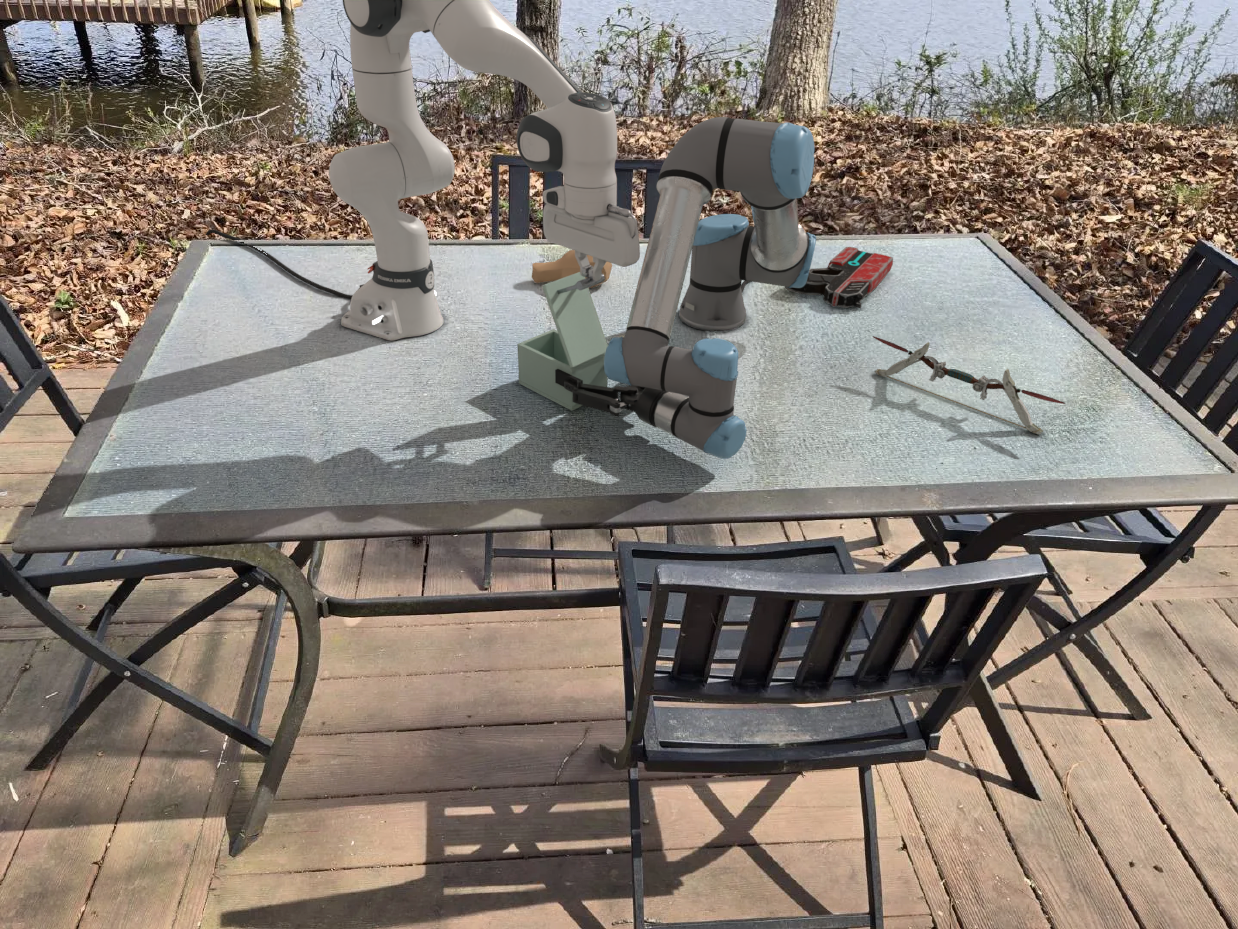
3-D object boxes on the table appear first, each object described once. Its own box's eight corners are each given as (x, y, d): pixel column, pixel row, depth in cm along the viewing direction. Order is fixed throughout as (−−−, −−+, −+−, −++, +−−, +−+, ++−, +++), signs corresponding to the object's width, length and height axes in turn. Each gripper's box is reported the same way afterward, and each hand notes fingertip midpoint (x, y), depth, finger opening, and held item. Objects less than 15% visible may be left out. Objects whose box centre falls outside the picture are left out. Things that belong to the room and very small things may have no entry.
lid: (541, 285, 157) (570, 276, 151) (579, 271, 163) (608, 262, 157) (570, 367, 161) (599, 362, 154) (606, 351, 167) (635, 345, 160)
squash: (613, 292, 213) (609, 260, 207) (532, 299, 215) (526, 267, 209) (614, 269, 221) (610, 237, 215) (536, 276, 223) (529, 244, 217)
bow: (1055, 436, 162) (1072, 389, 156) (1051, 440, 160) (1068, 392, 155) (868, 367, 183) (877, 323, 177) (863, 370, 182) (872, 326, 176)
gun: (782, 277, 212) (859, 296, 204) (826, 238, 234) (898, 255, 226) (779, 294, 214) (856, 314, 207) (823, 255, 236) (894, 271, 229)
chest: (518, 383, 174) (517, 343, 169) (554, 367, 180) (553, 328, 175) (571, 411, 165) (571, 369, 161) (607, 393, 171) (608, 353, 167)
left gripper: (649, 207, 143) (646, 288, 150) (562, 183, 154) (564, 259, 162) (623, 216, 139) (621, 298, 147) (535, 190, 151) (538, 267, 158)
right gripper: (622, 450, 150) (533, 404, 162) (703, 404, 163) (616, 365, 176) (623, 412, 146) (532, 368, 158) (706, 369, 159) (616, 331, 172)
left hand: (590, 277), depth 154 cm, fingers closed, pressing on lid
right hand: (576, 366), depth 167 cm, fingers closed on chest, 10 cm apart
